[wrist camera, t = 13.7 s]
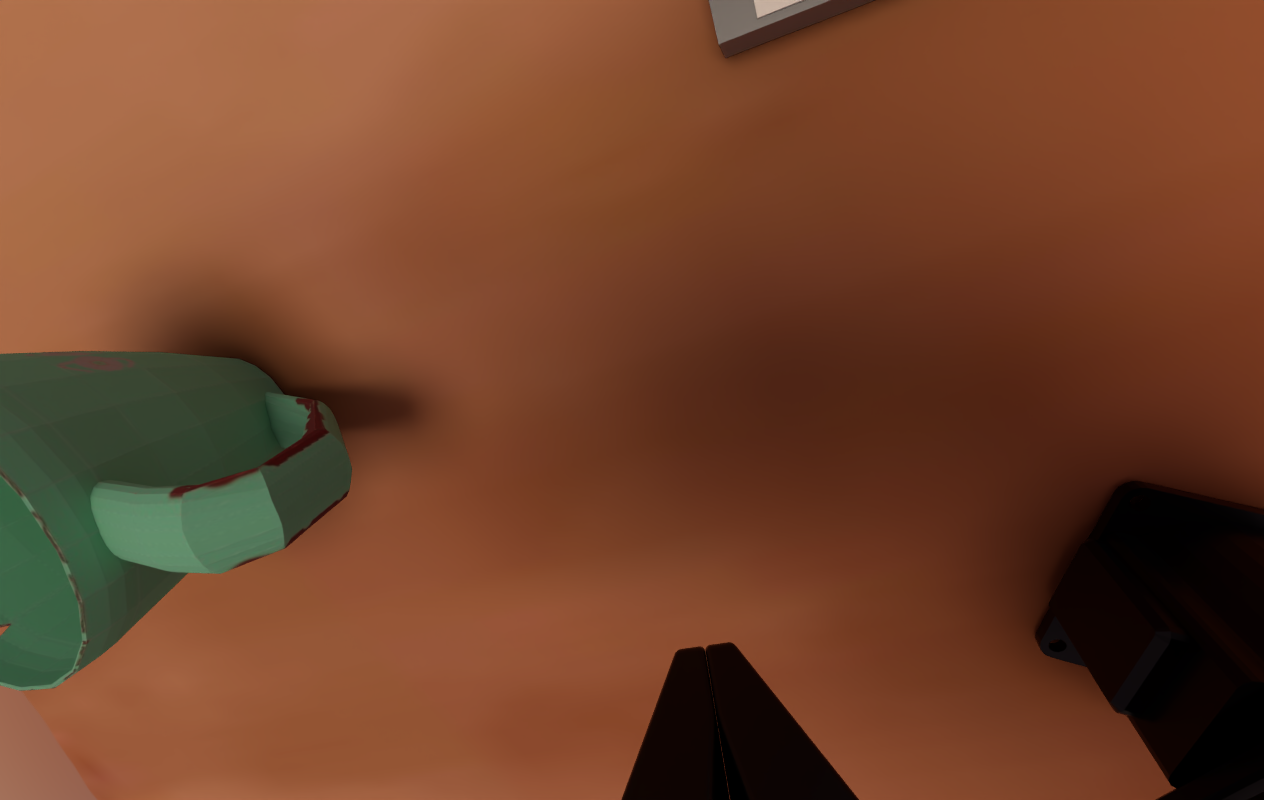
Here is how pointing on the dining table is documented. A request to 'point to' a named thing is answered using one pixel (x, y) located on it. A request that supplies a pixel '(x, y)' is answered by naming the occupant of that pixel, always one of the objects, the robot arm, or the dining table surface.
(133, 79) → the dining table surface
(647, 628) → the dining table surface
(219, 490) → the mug
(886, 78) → the dining table surface
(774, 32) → the switch block
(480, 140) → the dining table surface
